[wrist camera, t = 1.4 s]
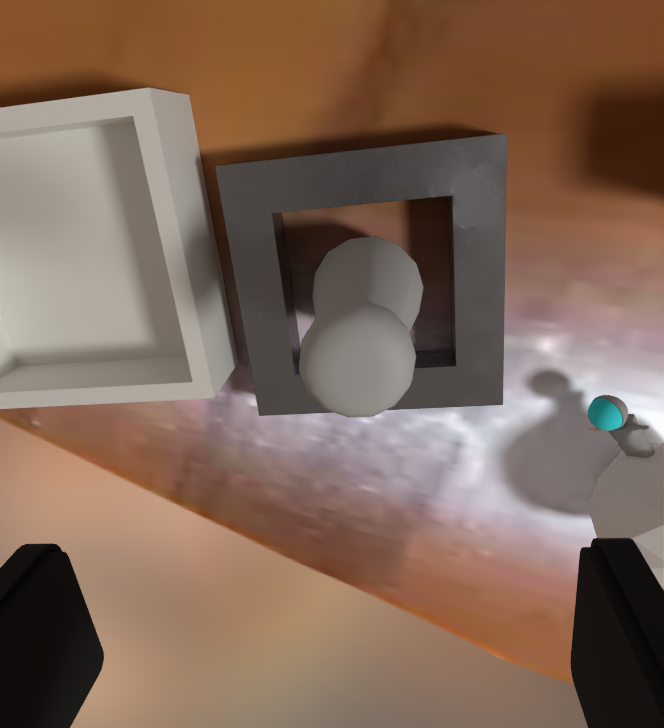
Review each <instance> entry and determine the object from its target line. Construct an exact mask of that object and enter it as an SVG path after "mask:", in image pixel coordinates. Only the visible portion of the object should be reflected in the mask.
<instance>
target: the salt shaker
mask: <svg viewBox="0 0 664 728" xmlns="http://www.w3.org/2000/svg"><path fill="white" fill-rule="evenodd" d="M422 293H423V284H422V281H421V277H420V274H419V270H418V267H417V264H416V263H415V262H414V261H413V259H412V258H411V257H410V256H409V255H408V254H407V253H406V252H405V251H404V250H403V249H402V248H401V247H400V246H399V245H397V244H394V243H392V242H389V241H387V240H384V239H382V238H379V237H376V236H372V237H363V238H355V239H349V240H347V241H346V242H344V243H342V244H341V245H339V246H337V247H336V248H334V249H332V250H330V251H329V252H328V253H327V254H326V256H325V258H324V259H323V261H322V263H321V264H320V266H319V268H318V269H317V271H316V273H315V280H314V288H313V296H312V297H313V304H314V311H315V318H316V319H315V320H314V322H313V323H312V325H311V327H310V328H309V330H308V331H307V333H306V334H305V336H304V338H303V339H302V342H301V352H300V361H299V371H300V374H301V376H302V379H303V381H304V384H305V386H306V388H307V391H308V393H309V394H310V395H311V396H312V397H313V398H314V399H315V400H316V401H317V402H319V403H320V404H321V405H322V406H323V407H324V408H325V409H326V410H329V411H332V412H335V413H338V414H341V415H343V416H346V417H370V416H375V415H377V414H379V413H381V412H383V411H385V410H387V409H389V408H391V407H393V406H395V405H396V403H397V402H398V401H399V400H400V398H401V397H402V396H403V395H404V393H405V392H406V391H407V390H408V388H409V387H410V385H411V382H412V378H413V372H414V366H415V360H416V354H415V350H414V346H413V343H412V340H411V336H410V331H411V328H412V326H413V324H414V322H415V320H416V317H417V315H418V313H419V310H420V304H421V299H422Z"/></svg>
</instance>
